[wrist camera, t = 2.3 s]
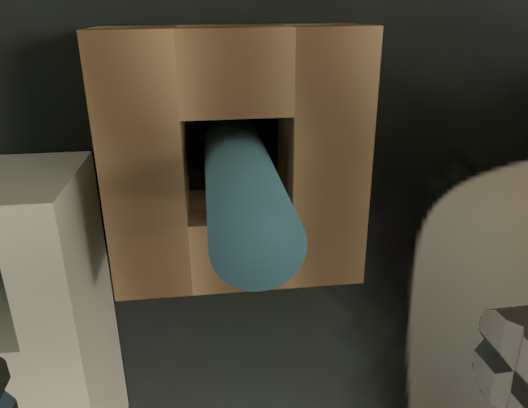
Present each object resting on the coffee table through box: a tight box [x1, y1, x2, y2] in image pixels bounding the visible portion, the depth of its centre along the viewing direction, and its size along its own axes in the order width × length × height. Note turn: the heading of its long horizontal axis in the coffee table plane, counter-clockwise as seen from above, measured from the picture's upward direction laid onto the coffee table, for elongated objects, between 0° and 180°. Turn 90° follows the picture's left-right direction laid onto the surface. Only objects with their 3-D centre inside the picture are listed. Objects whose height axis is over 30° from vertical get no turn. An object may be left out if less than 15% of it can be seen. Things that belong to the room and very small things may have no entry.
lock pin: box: [204, 119, 307, 292], centre depth 17 cm, size 2×2×10 cm
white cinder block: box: [0, 151, 129, 408], centre depth 20 cm, size 8×14×6 cm, turn 1°
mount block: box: [76, 23, 384, 301], centre depth 20 cm, size 10×10×4 cm
